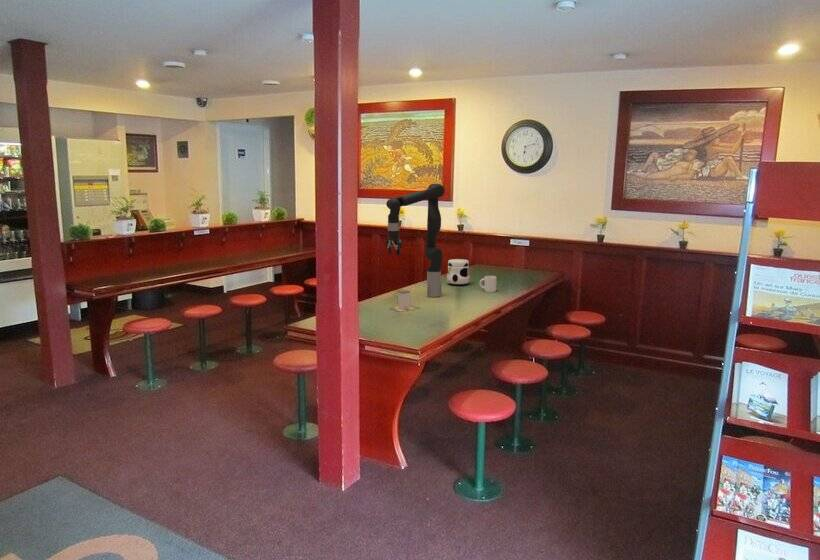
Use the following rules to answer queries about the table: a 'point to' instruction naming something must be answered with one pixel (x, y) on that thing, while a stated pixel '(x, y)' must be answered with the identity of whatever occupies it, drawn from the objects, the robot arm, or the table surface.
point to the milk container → (458, 272)
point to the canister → (403, 299)
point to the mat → (403, 309)
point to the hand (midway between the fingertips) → (393, 254)
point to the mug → (489, 283)
